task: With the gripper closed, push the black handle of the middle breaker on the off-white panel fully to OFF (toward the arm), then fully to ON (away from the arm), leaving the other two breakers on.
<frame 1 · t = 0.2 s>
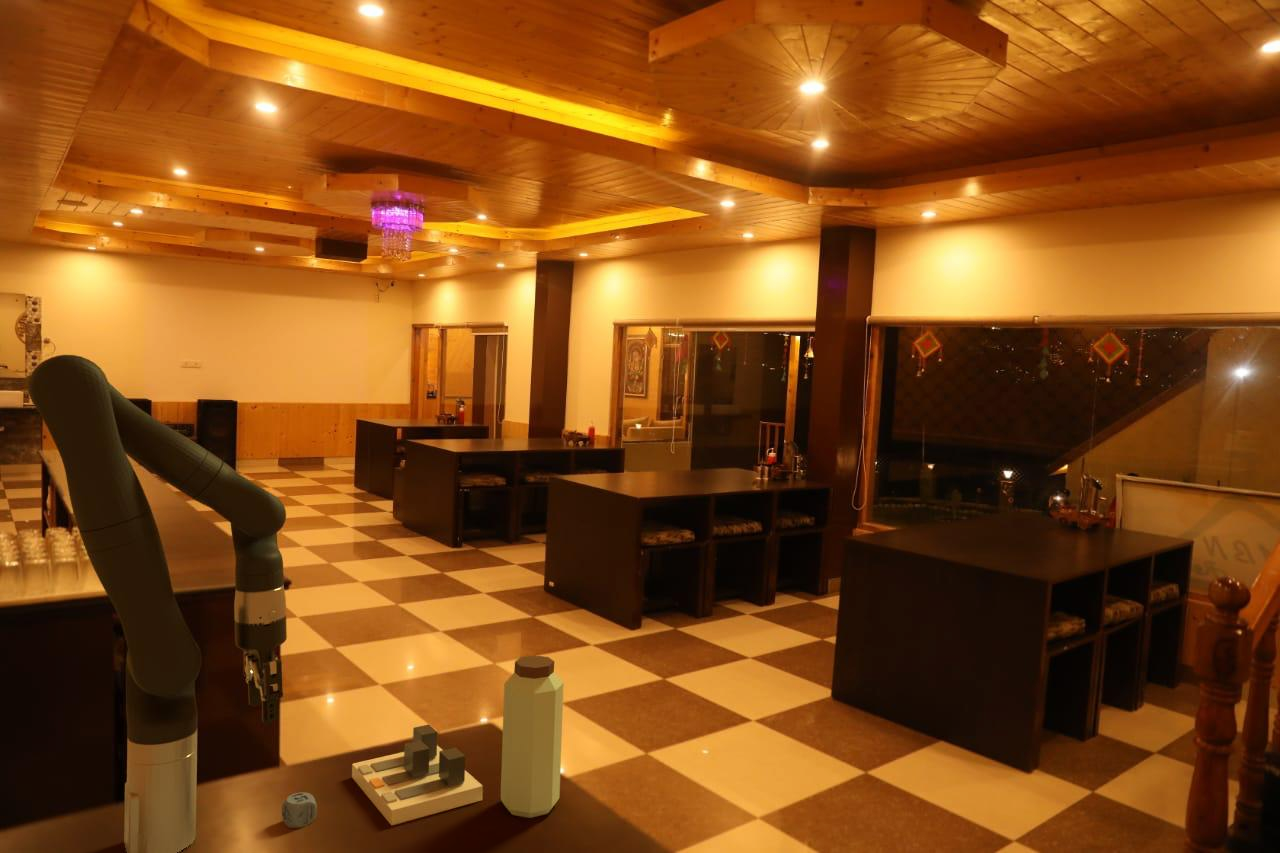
hand: (263, 713, 136), 17 cm above the table, tool pointing down, fingers open, 8 cm apart
tripped breaker: (416, 758, 149), point 5 cm above the table, slide at 0.0 cm
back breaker: (425, 741, 156), point 5 cm above the table, slide at 4.0 cm
breaker panel: (415, 788, 149), on the table
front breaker: (451, 766, 147), point 5 cm above the table, slide at 4.0 cm
water bottle: (529, 806, 145), on the table
decorative dice: (298, 823, 137), on the table
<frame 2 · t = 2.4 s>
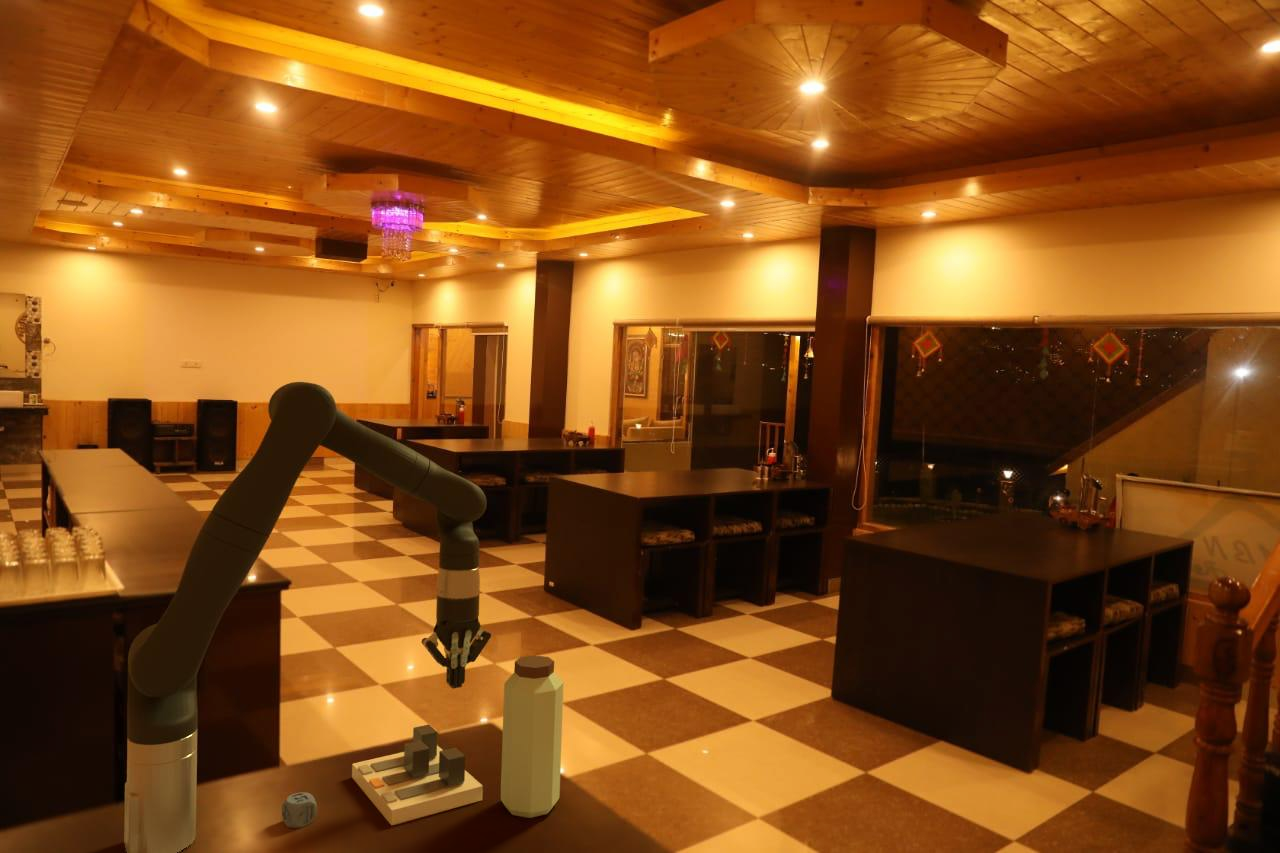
hand: (455, 686, 153), 17 cm above the table, tool pointing down, fingers closed
nothing on the table moved.
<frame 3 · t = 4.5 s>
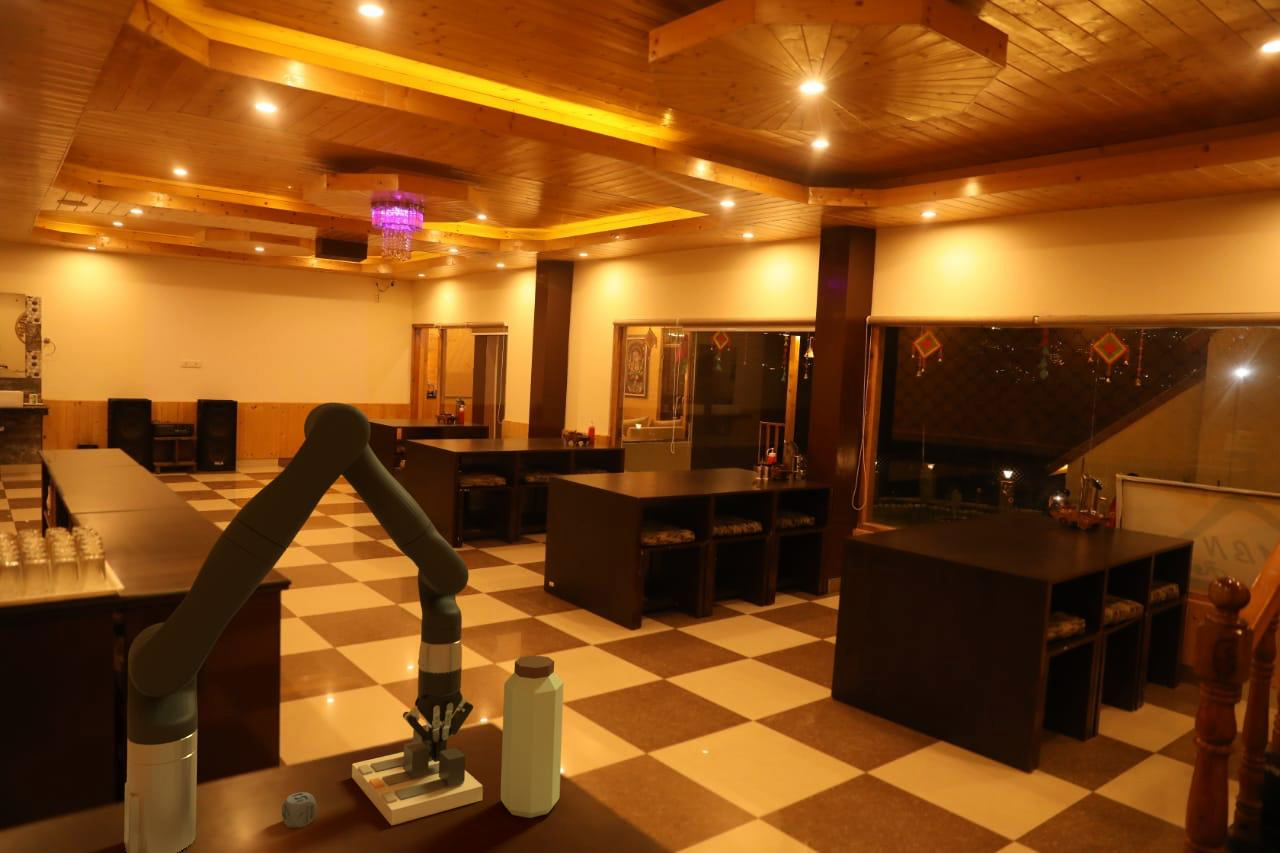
hand: (437, 759, 152), 4 cm above the table, tool pointing down, fingers closed
tripped breaker: (416, 758, 149), point 5 cm above the table, slide at -0.1 cm, touching gripper
everything else where it was.
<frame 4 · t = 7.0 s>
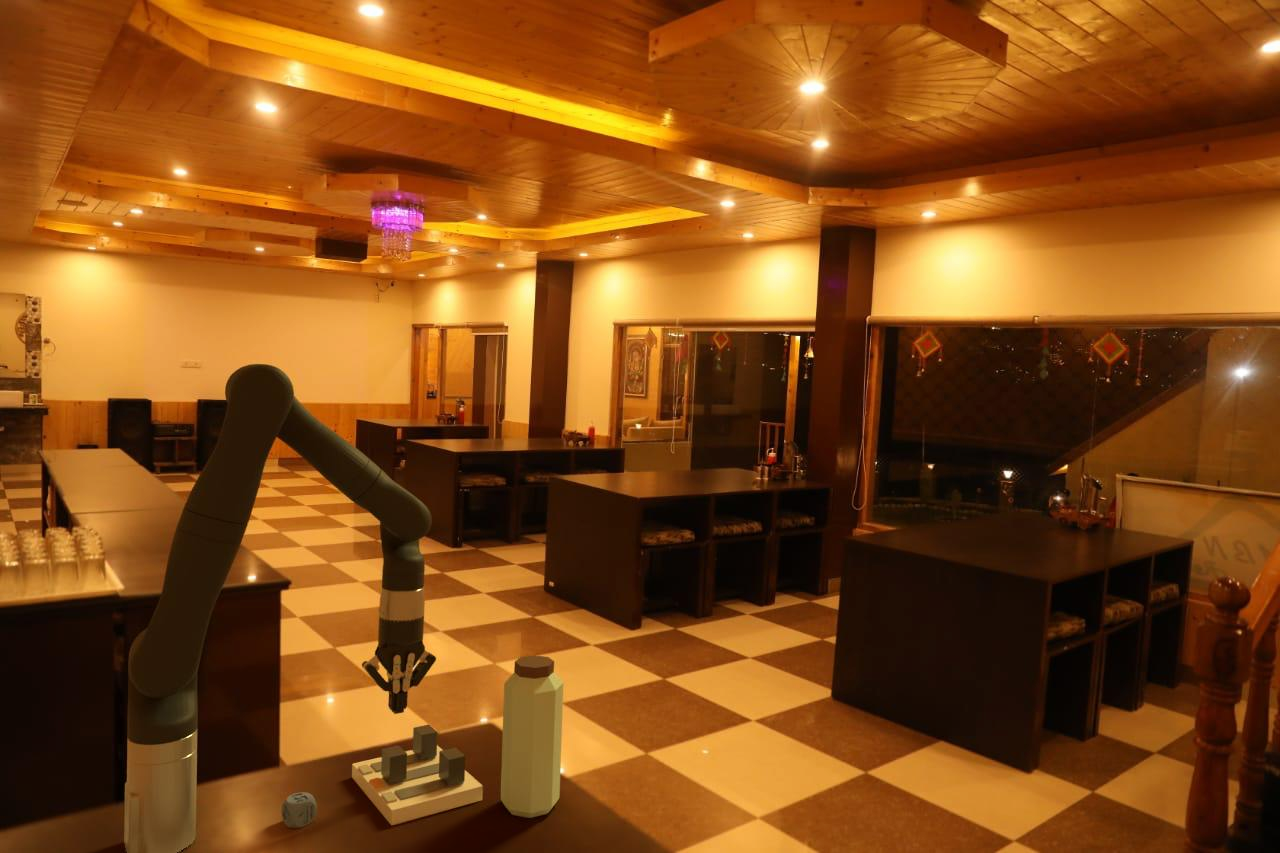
hand: (397, 711, 147), 14 cm above the table, tool pointing down, fingers closed
tripped breaker: (394, 764, 147), point 5 cm above the table, slide at -4.1 cm
everything else where it was.
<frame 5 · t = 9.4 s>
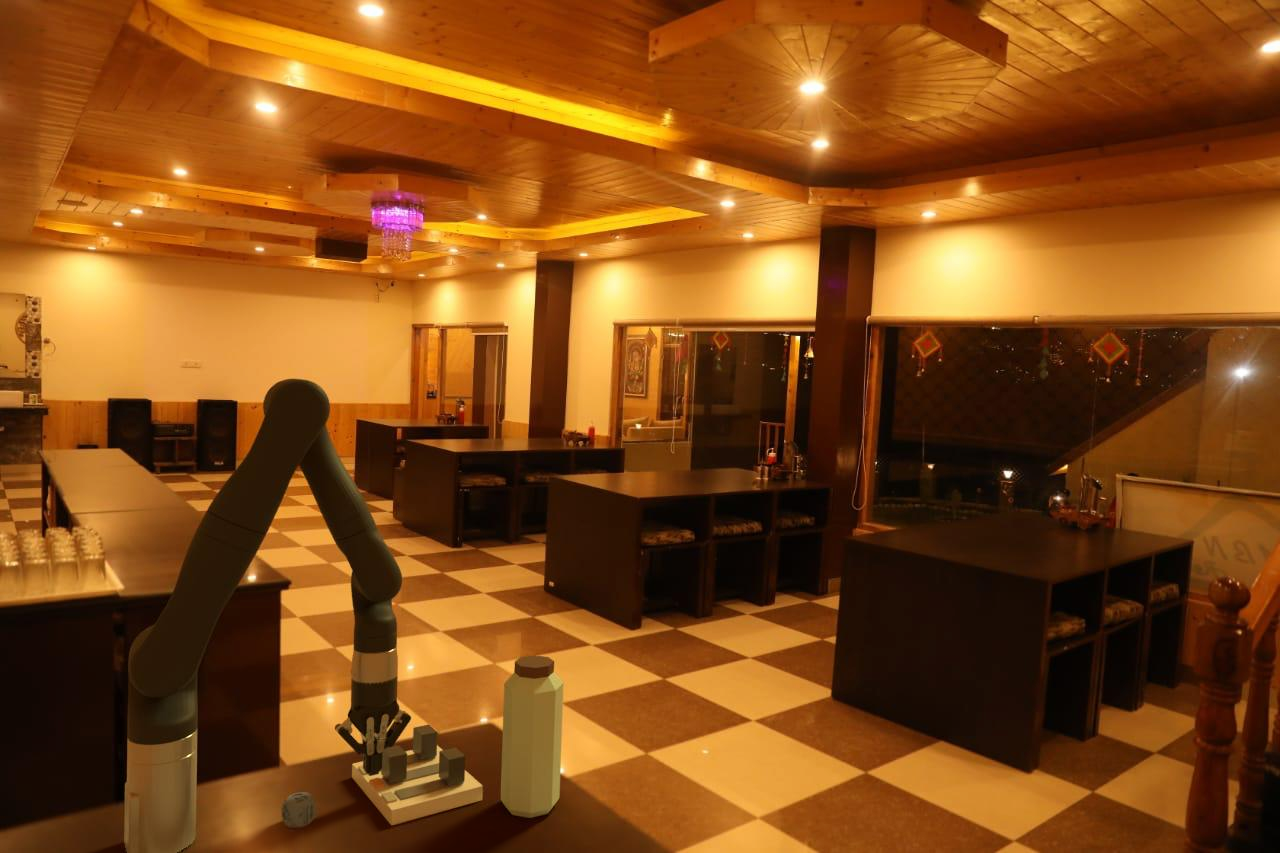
hand: (372, 773, 145), 5 cm above the table, tool pointing down, fingers closed
tripped breaker: (394, 764, 147), point 5 cm above the table, slide at -4.0 cm, touching gripper
everything else where it was.
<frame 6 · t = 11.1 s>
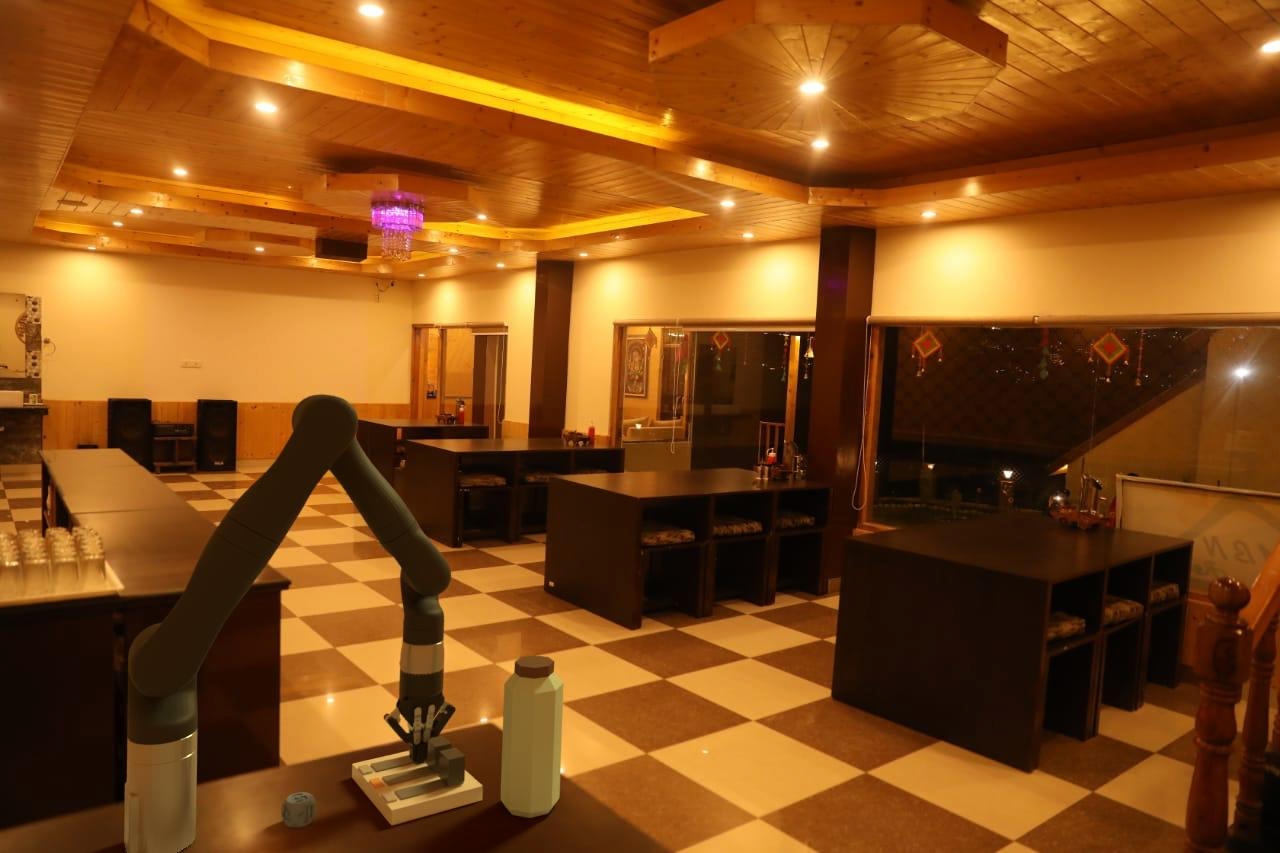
hand: (418, 762, 149), 5 cm above the table, tool pointing down, fingers closed
tripped breaker: (438, 753, 152), point 5 cm above the table, slide at 4.1 cm, touching gripper
everything else where it was.
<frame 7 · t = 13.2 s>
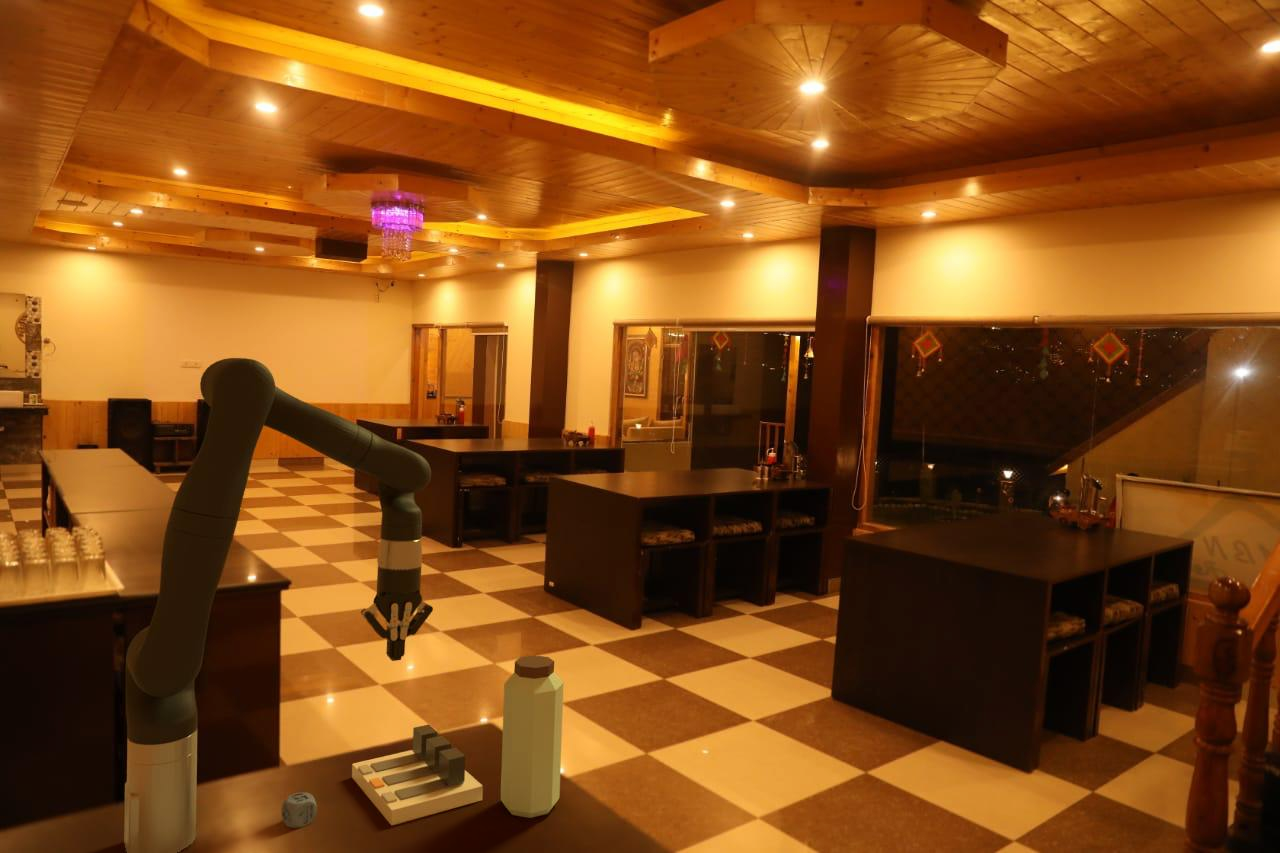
hand: (395, 659, 152), 22 cm above the table, tool pointing down, fingers closed
tripped breaker: (438, 753, 152), point 5 cm above the table, slide at 4.1 cm
everything else where it was.
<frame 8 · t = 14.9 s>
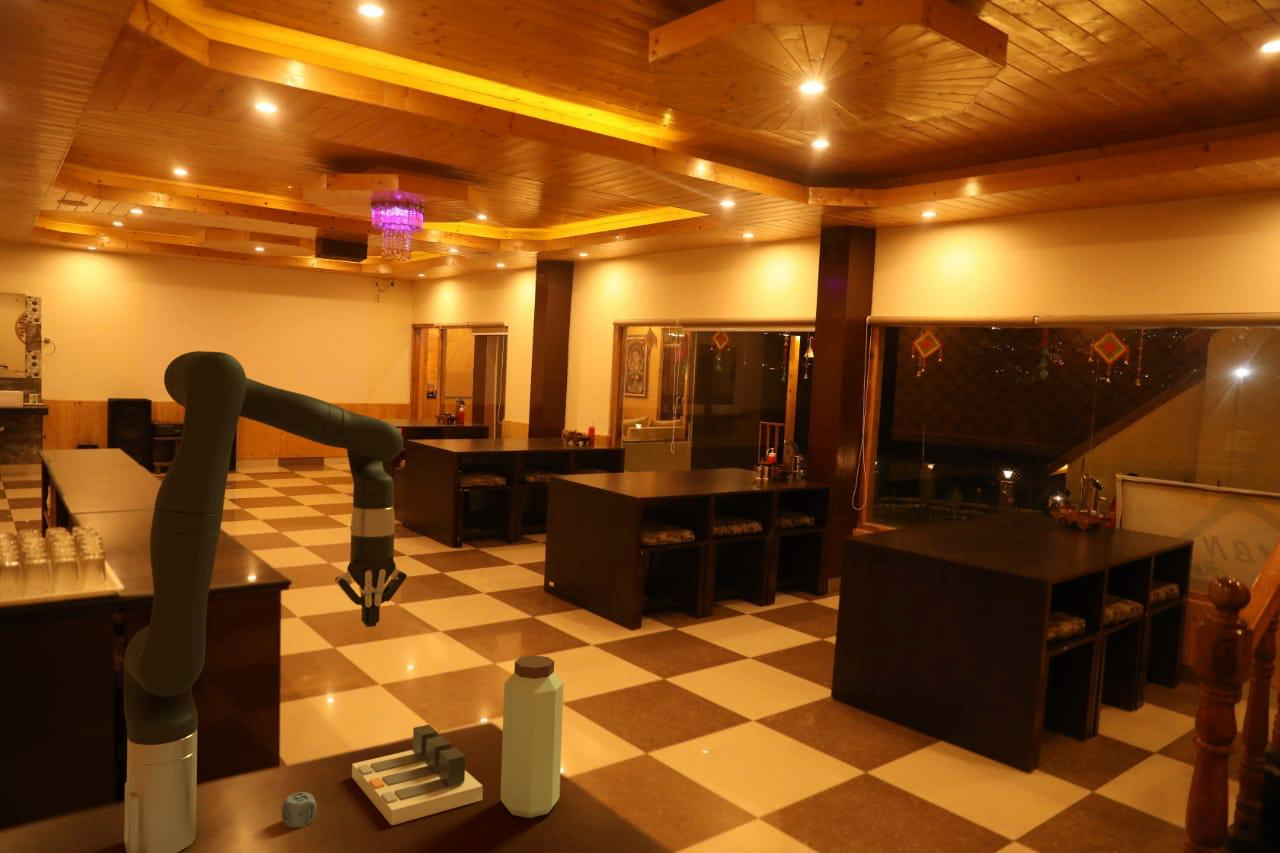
hand: (370, 625, 154), 27 cm above the table, tool pointing down, fingers closed
nothing on the table moved.
at the end: tripped breaker slide at 4.1 cm; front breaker slide at 4.0 cm; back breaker slide at 4.0 cm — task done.
